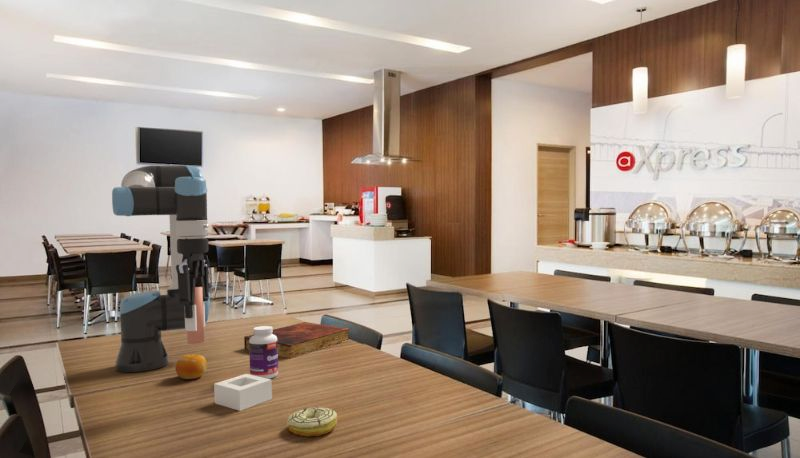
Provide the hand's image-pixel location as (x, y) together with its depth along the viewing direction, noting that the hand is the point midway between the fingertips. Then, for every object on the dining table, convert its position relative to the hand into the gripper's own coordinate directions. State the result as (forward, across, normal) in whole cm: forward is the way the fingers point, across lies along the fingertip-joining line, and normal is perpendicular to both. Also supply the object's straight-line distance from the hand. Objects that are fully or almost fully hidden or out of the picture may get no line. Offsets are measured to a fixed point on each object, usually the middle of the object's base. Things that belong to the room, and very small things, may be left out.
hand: (195, 328), depth 140 cm
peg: (+4, 0, 0) cm, 4 cm away
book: (+19, +59, -10) cm, 63 cm away
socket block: (+19, 0, -12) cm, 22 cm away
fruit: (+19, +19, +11) cm, 29 cm away
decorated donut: (+19, -17, -35) cm, 43 cm away
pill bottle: (+19, +20, -10) cm, 30 cm away
